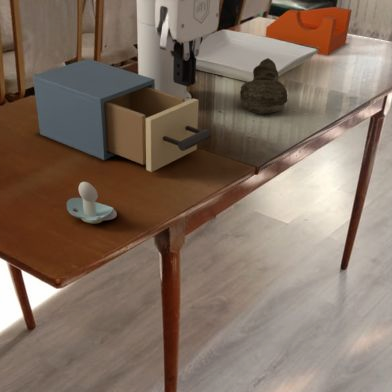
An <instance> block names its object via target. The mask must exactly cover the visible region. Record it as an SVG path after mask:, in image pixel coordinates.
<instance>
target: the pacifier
mask: <svg viewBox="0 0 392 392" xmlns="http://www.w3.org/2000/svg"><path fill="white" fill-rule="evenodd" d="M78 193H79V195H80V197H71V198H70V199H68V200H67V201H66V209H67V211H68V213H69V214H70V215H71V216H72V217H74V218H77V219H81V221H83V222H85V223H88V224H99V223H102V222H105V221H111V220H114V219H115V218H116V217H117V215H118V214H117V211H116V210H115V209H114V207H113V206H110V205H107V204H103V203H100V202H97V200H98V191H97V189H96V188H95V186H93V185H92V184H91V183H90V182H88V181H82V182H80V183H79V185H78ZM74 210H75V211H74Z"/></svg>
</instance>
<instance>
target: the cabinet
mask: <svg viewBox="0 0 392 392" xmlns="http://www.w3.org/2000/svg"><path fill="white" fill-rule="evenodd" d="M32 83H33V89H34V96H35V104H36V111H37V120H38V128H39V134H40V135H41V136H43V137H46V138H47V139H48V138H49V139H51V140H54V141H56V142H58V143H61V144H64V145H66V146H68V147H71V148H73V149H75V150H78V151H81V152H82V153H86V154H88V155H91V156H93V157H96V158H98V159H101V160H102V161H106V160H108V159H110V158H113V157H115V156H118V155H117V154H114V153H112V152H109V151H107V144H106V127H105V110H104V102H107V101H109V100H112V99H115V98H117V97H120V96H123V95H126V94H128V93H131V92H134V91H136V90H139V89H142V88H144V87H150V88H153V89H155V84H154V83H155V80H154V79H152V78H149V77H145V76H142V75H139V74H138V73H135V72H132V71H129V70H126V69H123V68H120V67H116V66H113V65H110V64H107V63H104V62H100V61H97V60H93V59H91V58H86V59H82V60H78V61H75V62H72V63H70V64H66V65H62V66H59V67H56V68H53V69H50V70H47V71H43V72H40V73H37V74H33V75H32Z"/></svg>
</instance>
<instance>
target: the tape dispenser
mask: <svg viewBox="0 0 392 392" xmlns="http://www.w3.org/2000/svg"><path fill="white" fill-rule="evenodd" d="M351 16H352V9H349V8H343V7H338V6H330V7H322V8H321V7H320V8H312V9H303V10H297V9H293V8H291V9H289V10H287V11H285V12H284V13H283V14H282V15H280V16H278V17H277V19H275V20H274V21H272V22H271V23H270V24H269V25H268V26H266V30H265V37H269V38H273V39H277V40H281V41H286V42H290V43H293V44H298V45H303V46H307V47H312V48H318V49H317V50H318V52H317V53H318V54H321V55H325V56H328V55H330V54H332V53H334V52H335V51H336V50H338V49H340V48H341V47H343V46H344V45H346V43H347V38H348V32H349V27H350V22H351Z"/></svg>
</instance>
